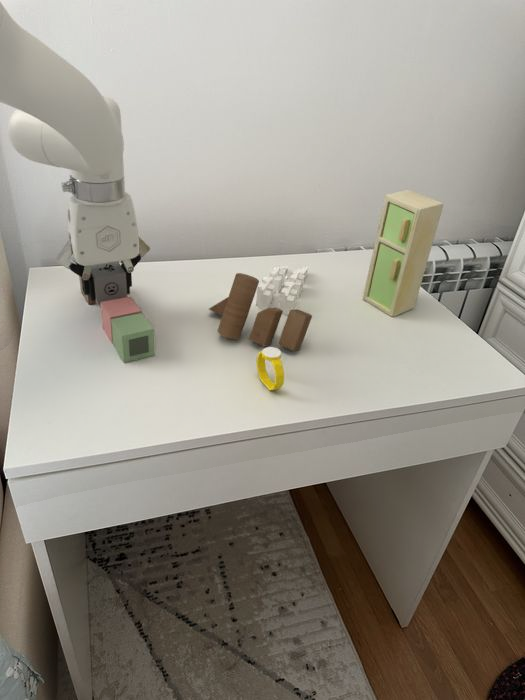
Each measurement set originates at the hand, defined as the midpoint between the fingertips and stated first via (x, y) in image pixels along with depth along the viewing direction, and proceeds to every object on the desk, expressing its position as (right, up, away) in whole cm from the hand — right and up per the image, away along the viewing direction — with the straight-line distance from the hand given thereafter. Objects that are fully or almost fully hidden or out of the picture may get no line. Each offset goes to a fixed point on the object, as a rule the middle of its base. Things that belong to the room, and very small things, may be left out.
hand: (108, 292), depth 90 cm
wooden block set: (+24, -7, +1) cm, 25 cm away
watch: (+27, -15, -9) cm, 32 cm away
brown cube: (-4, 0, +7) cm, 8 cm away
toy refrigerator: (+50, -1, +14) cm, 52 cm away
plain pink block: (+3, -7, -2) cm, 8 cm away
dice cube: (0, -1, 0) cm, 1 cm away
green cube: (+6, -10, -6) cm, 13 cm away
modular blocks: (+30, +2, +15) cm, 34 cm away
